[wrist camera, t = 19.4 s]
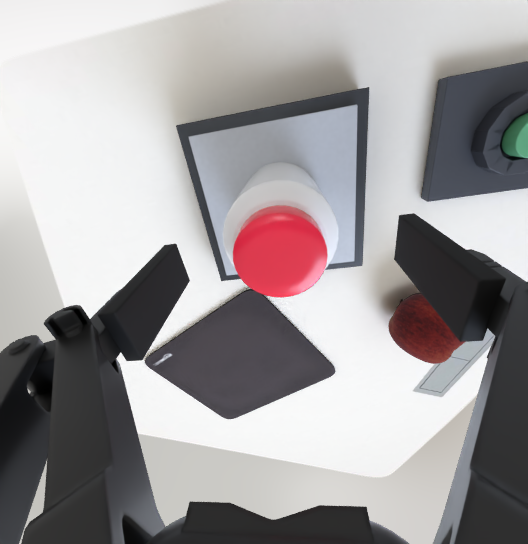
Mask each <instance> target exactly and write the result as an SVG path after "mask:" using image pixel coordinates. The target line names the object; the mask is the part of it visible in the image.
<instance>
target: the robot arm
mask: <svg viewBox="0 0 528 544" xmlns="http://www.w3.org/2000/svg"><path fill="white" fill-rule="evenodd" d="M394 260H395V261H396V262H397V263H398V265H399V266H400V267H401V268H402V270H403V271H404V272H405V273H406V275H407V276H408V277H409V278H410V280H411V281H412V282H413V283H414V285H415V286H416V287H417V288H418V290H419V291H420V292H421V293H422V295H423V296H424V297H425V298H426V300H427V301H428V302H429V303H430V305H431V306H432V307H433V308H434V310H435V311H436V312H437V313H438V315H439V316H440V317H441V318H442V320H443V321H444V322H445V323H446V325H447V326H448V327H449V328H450V330H451V331H452V332H453V333H454V335H455V336H456V337H457V338H458V340H459V341H460V342H466V341H483V339H484V336H485V333H486V331H487V328H488V329H489V330H490V331H491V332H492V333H493V334H494V335H495V339H494V341H493V343H492V346H491V348H490V351H489V353H488V356H487V358H488V361H487V364H486V368H485V371H484V375H483V378H482V382H481V385H480V389H479V392H478V396H477V399H476V403H475V406H474V409H473V413H472V416H471V420H470V423H469V427H468V430H467V434H466V437H465V441H464V444H463V448H462V451H461V455H460V458H459V462H458V465H457V468H456V472H455V476H454V479H453V482H452V486H451V489H450V493H449V496H448V500H447V503H446V506H445V510H444V513H443V517H442V520H441V523H440V526H439V529H438V531H437V534H436V537H435V540H434V542H433V544H528V282H526V281H524V280H523V279H521V278H520V277H518V276H517V275H515V274H514V273H512V272H511V271H509V270H508V269H506V268H505V267H502V265H500V264H498V263H497V262H494V260H492V259H491V258H489V257H488V256H486V255H485V254H482V253H480V252H477V251H474V250H465V249H464V248H462V247H461V246H460V245H458V244H457V243H455V242H454V241H452V240H451V239H450V238H448V237H447V236H445V235H444V234H443V233H441V232H440V231H438V230H437V229H435V228H434V227H433V226H431V225H430V224H428V223H427V222H425V221H424V220H423V219H421V218H420V217H418V216H417V215H416V214H406V215H399V222H398V231H397V240H396V249H395V258H394ZM189 281H190V280H189V277H188V275H187V272H186V269H185V267H184V264H183V261H182V258H181V256H180V253H179V250H178V248H177V245H176V244H171V245H164V247H163V248H162V249H161V250H160V251H159V252H158V253H157V254H156V255H155V256H154V257H153V258H152V259H151V260H150V261H149V262H148V263H147V264H146V265H145V266H144V267H143V268H142V269H141V270H140V271H139V272H138V273H137V274H136V275H135V276H134V277H133V278H132V279H131V280H130V281H129V282H128V283H127V284H126V285H125V287H124V288H122V289H121V290H119V291H118V292H117V293H116V294H115V295H114V296H113V297H112V298H111V299H110V300H109V301H108V302H107V303H106V304H105V305H104V306H103V307H102V308H101V309H100V310H99V311H98V312H97V313H96V314H95V315H94V316H93V317H92V318H91V319H89V318H88V316H87V315H86V313H85V312H84V310H83V309H82V307H81V306H79V305H74V306H69V307H66V308H63V309H61V310H59V311H57V312H55V313H54V314H52V315H51V316H50V317H48V318H47V319H46V320H45V322H44V325H45V326H46V327H47V329H48V330H49V331H50V332H51V334H52V335H53V336H54V337H55V339H56V340H53V341H49V342H46V343H43V342H42V341H41V340H40V339H39V337H38V336H36V335H31V336H28V337H24V338H22V339H18V340H16V341H15V342H13V343H11V344H10V345H9V346H8V347H6V348H5V349H4V350H3V351H2V352H1V353H0V544H19V541H20V539H21V536H22V533H23V530H24V527H25V524H26V521H27V518H28V515H29V512H30V509H31V506H32V503H33V499H34V497H35V494H36V491H37V487H38V485H39V482H40V479H41V476H42V473H43V470H44V466H45V464H46V461H47V473H46V487H45V501H44V510H43V513H42V514H40V515H39V516H38V517H36V518H35V519H33V520H32V521H31V522H30V523H29V524H28V526H27V527H26V529H25V531H24V535H23V539H22V543H21V544H409V543H408V542H406V541H405V540H404V539H402V538H401V537H399V536H398V535H397V534H395V533H394V532H392V531H391V530H389V529H387V528H385V527H383V526H381V525H379V524H377V523H374V522H372V521H369V516H368V512H367V507H354V506H317V507H314V508H311V509H307V510H304V511H302V512H298V513H296V514H292V515H289V516H286V517H283V518H280V519H276V520H271V519H268V518H265V517H263V516H260V515H258V514H256V513H253V512H251V511H248V510H246V509H243V508H241V507H238V506H236V505H234V504H231V503H219V502H190V503H189V507H188V511H187V515H186V516H185V517H183V518H180V519H178V520H176V521H175V522H173V523H171V524H169V525H168V526H166V527H165V525H164V523H163V521H162V519H161V517H160V515H159V513H158V510H157V507H156V504H155V500H154V496H153V492H152V489H151V485H150V481H149V477H148V473H147V469H146V465H145V461H144V457H143V453H142V449H141V446H140V442H139V438H138V434H137V430H136V426H135V422H134V418H133V414H132V410H131V406H130V403H129V399H128V395H127V391H126V387H125V383H124V379H123V375H122V371H121V367H120V364H119V362H118V361H117V359H116V358H117V357H118V355H119V354H120V352H121V353H122V354H123V356H124V358H125V359H126V361H137V360H143V358H144V356H145V355H146V353H147V351H148V350H149V348H150V346H151V345H152V343H153V341H154V340H155V338H156V336H157V335H158V333H159V331H160V329H161V328H162V326H163V324H164V323H165V321H166V319H167V318H168V316H169V314H170V313H171V311H172V309H173V308H174V306H175V304H176V303H177V301H178V299H179V298H180V296H181V294H182V293H183V291H184V289H185V288H186V286H187V284H188V283H189ZM27 388H28V389H29V390H30V391H31V393H30V394H29V393H28V390H27ZM47 458H48V459H47Z"/></svg>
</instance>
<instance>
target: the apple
mask: <svg viewBox="0 0 528 544" xmlns="http://www.w3.org/2000/svg"><path fill="white" fill-rule="evenodd" d="M389 332H390V335H391V337H392V338H393V340H394V341H395V342H396V344H397V345H398V346H399V347H400V348H402V349H403V350H404V351H406V352H407V353H409V354H410V355H412V356H414V357H416V358H418V359H420V360H422V361H425V362H428V363H433V364H436V363H442V362H444V361H446V360H447V359H448V358H449V357H450V356H451V354H452V353H453V351H454V350H456V349H457V348H458V347H459V346H461V345H462V344H463V343H464V342H460V341H459V340H458V338H457V337H456V336H455V335H454V333H453V332H452V331H451V330H450V328H449V327H448V326H447V325H446V323H445V322H444V321H443V320H442V318H441V317H440V316H439V315H438V313H437V312H436V311H435V310H434V308H433V307H432V306H431V305H430V303H429V302H428V301H427V300H426V298H425V297H424V296H423V295H422V293H419V294H414V295H411V296H409V297H408V298H406V299H405V300H403V299H402V300H401V301H400V305H399V306H398V307H397V309H396V311H395V313H394V315H393V316H392V317H391V319H390V321H389Z"/></svg>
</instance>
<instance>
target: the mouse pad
mask: <svg viewBox="0 0 528 544" xmlns="http://www.w3.org/2000/svg"><path fill="white" fill-rule="evenodd" d="M145 364H146V365H147V366H148V367H149V368H150V369H152V370H153V371H155V372H156V373H158V374H159V375H161V376H162V377H164V378H165V379H167V380H168V381H170V382H171V383H173V384H174V385H176V386H177V387H179V388H180V389H181V390H183V391H184V392H186V393H187V394H189V395H190V396H192V397H193V398H195V399H196V400H198V401H199V402H201V403H202V404H204V405H205V406H207V407H208V408H210V409H211V410H213V411H214V412H216V413H217V414H219V415H220V416H222V417H223V418H226V419H234V418H237V417H239V416H241V415H244V414H246V413H248V412H251V411H253V410H255V409H257V408H260V407H262V406H264V405H267V404H269V403H271V402H274V401H276V400H278V399H281V398H283V397H285V396H287V395H290V394H292V393H294V392H297V391H299V390H301V389H304V388H306V387H308V386H310V385H313V384H315V383H317V382H320V381H322V380H324V379H326V378H329V377H331V376H332V375H333V374H334V373H335V368H334V366H333V365H332V364H331V363H330V362H329V361H328V360H327V359H326V358H325V357H324V356H323V355H322V354H321V353H320V352H319V351H318V350H317V349H316V348H315V347H314V346H313V345H312V344H311V343H310V342H309V341H308V340H307V339H306V338H305V337H304V336H303V335H302V334H301V333H300V332H299V331H298V330H297V329H296V328H295V327H294V326H293V325H292V324H291V323H290V322H289V321H288V320H287V319H286V318H285V317H284V316H283V315H282V314H281V313H280V312H279V311H278V310H277V309H276V308H275V307H274V306H273V305H272V304H271V303H270V302H269V301H268V299H267V298H266V297H265V296H264V295H262V294H261V293H258V292H256V291H255V290H247V291H245V292H243V293H241V294H240V295H238V296H237V297H235V298H234V299H232V300H231V301H229V302H228V303H226V304H225V305H223V306H222V307H220V308H219V309H217V310H216V311H214V312H213V313H211V314H210V315H208V316H207V317H205V318H204V319H202V320H201V321H200V322H198V323H197V324H195V325H194V326H192V327H191V328H189V329H188V330H186V331H185V332H183V333H182V334H180V335H179V336H177V337H176V338H174V339H173V340H171V341H170V342H169V343H167V344H166V345H164V346H163V347H161V348H160V349H158V350H157V351H155V352H154V353H152V354H151V355H149V356H148V357H147V358H146V360H145Z"/></svg>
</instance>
